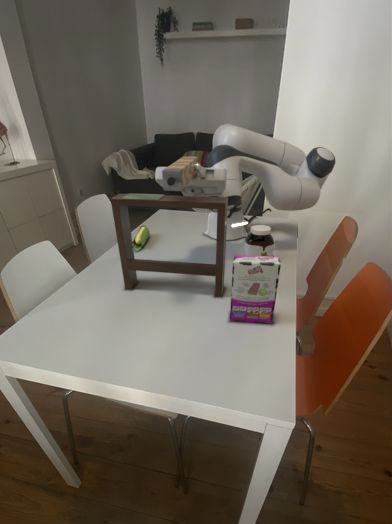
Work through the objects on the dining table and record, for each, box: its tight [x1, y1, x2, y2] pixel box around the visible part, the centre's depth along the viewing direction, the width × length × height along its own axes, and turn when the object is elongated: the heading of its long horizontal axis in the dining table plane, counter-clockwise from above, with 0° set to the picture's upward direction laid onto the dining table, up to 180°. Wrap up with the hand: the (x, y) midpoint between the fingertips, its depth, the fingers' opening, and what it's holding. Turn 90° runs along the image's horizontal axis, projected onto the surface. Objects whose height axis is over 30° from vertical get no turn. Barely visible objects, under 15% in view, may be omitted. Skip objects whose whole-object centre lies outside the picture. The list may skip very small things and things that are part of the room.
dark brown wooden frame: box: [110, 192, 228, 298], centre depth 90 cm, size 6×30×26 cm, turn 79°
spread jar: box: [243, 224, 276, 256], centre depth 113 cm, size 12×11×12 cm
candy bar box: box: [229, 254, 282, 325], centre depth 80 cm, size 11×5×16 cm, turn 82°
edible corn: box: [132, 225, 151, 252], centre depth 129 cm, size 5×20×5 cm, turn 178°
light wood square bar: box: [162, 156, 199, 192], centre depth 78 cm, size 23×4×4 cm, turn 170°
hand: (186, 166), depth 83 cm, fingers closed on light wood square bar, 4 cm apart
